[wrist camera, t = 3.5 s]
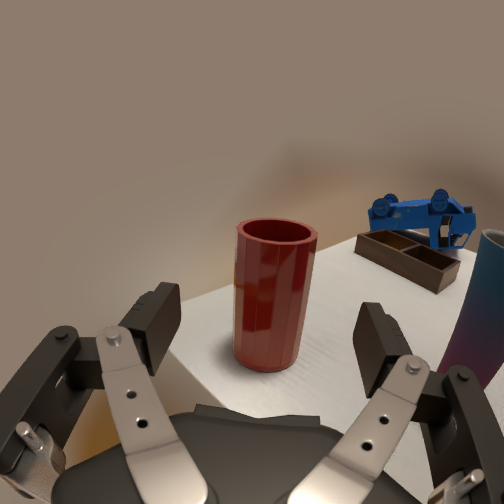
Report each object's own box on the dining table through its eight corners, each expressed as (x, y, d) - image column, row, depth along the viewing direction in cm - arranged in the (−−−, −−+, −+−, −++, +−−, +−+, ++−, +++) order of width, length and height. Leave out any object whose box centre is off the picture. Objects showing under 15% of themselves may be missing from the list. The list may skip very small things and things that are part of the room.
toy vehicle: (378, 194, 71) (384, 240, 73) (365, 200, 62) (372, 252, 64) (469, 186, 55) (473, 235, 57) (473, 190, 46) (477, 248, 48)
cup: (484, 392, 20) (551, 252, 14) (463, 435, 16) (557, 274, 10) (436, 363, 25) (488, 224, 19) (407, 399, 21) (474, 236, 15)
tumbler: (310, 356, 27) (334, 236, 22) (255, 381, 23) (267, 250, 19) (273, 323, 31) (284, 214, 27) (221, 341, 28) (222, 222, 24)
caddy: (381, 244, 56) (384, 228, 55) (455, 279, 43) (461, 261, 41) (354, 252, 52) (357, 234, 50) (436, 294, 38) (443, 273, 37)
